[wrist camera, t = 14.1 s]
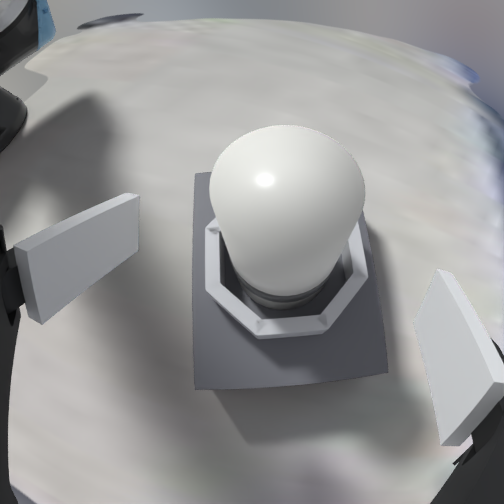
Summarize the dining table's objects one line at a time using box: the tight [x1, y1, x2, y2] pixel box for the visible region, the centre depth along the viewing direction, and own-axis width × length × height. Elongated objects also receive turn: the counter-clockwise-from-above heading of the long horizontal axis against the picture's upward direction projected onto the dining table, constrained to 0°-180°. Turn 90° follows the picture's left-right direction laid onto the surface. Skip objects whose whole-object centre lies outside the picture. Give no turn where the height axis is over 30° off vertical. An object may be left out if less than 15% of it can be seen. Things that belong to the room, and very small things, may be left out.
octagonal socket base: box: [192, 172, 388, 390], centre depth 26 cm, size 18×14×8 cm
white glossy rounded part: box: [209, 125, 365, 310], centre depth 19 cm, size 7×7×11 cm
